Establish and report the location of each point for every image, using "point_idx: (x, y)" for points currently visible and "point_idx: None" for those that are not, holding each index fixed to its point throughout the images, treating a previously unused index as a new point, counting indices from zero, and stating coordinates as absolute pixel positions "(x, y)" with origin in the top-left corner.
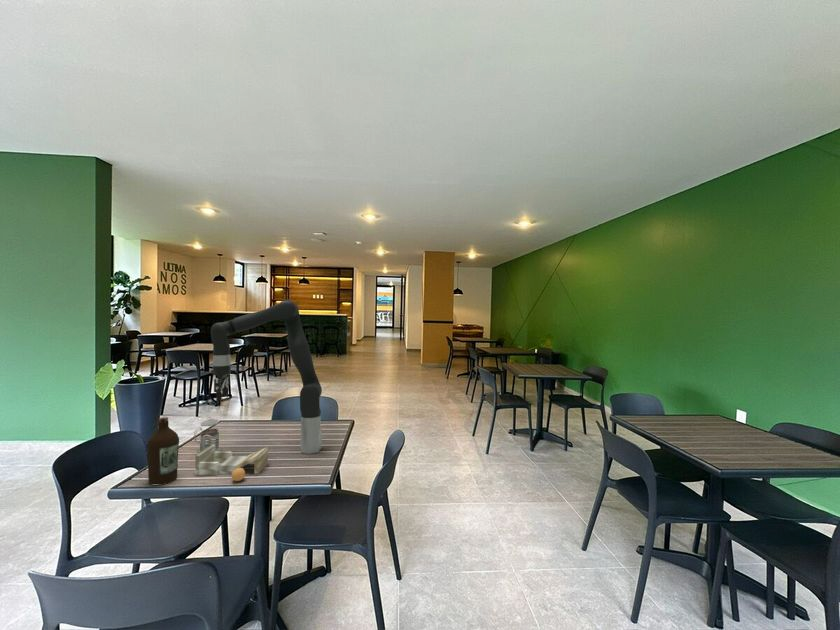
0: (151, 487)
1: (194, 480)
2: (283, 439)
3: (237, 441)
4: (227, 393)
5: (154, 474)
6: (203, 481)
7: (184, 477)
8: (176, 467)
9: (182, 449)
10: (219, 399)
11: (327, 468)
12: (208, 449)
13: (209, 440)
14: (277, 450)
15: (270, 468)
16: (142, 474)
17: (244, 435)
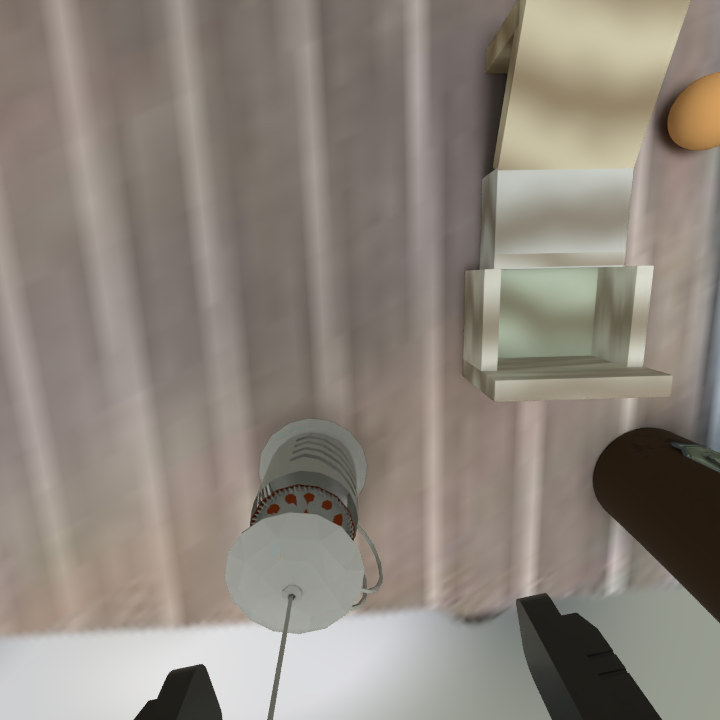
0: None
1: (657, 342)
2: (80, 112)
3: (159, 398)
4: (152, 710)
5: None
6: (671, 295)
7: (622, 404)
8: (683, 446)
9: None
10: (576, 621)
11: None
12: (574, 378)
13: (351, 484)
14: (279, 74)
15: None
16: (578, 588)
17: (53, 408)
